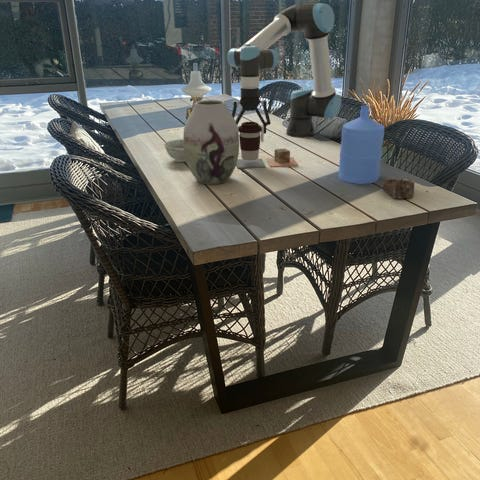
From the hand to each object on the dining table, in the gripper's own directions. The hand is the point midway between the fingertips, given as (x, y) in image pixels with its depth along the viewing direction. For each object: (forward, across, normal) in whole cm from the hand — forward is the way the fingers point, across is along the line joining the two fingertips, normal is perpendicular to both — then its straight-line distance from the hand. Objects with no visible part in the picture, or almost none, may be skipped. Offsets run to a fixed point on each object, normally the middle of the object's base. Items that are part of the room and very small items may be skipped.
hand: (249, 141), depth 207 cm
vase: (+10, +17, +19) cm, 27 cm away
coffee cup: (+7, 0, 0) cm, 7 cm away
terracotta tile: (+10, -14, 0) cm, 17 cm away
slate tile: (+10, 0, 0) cm, 10 cm away
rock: (+11, -48, +48) cm, 69 cm away
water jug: (+10, -40, +25) cm, 48 cm away
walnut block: (+9, -14, 0) cm, 17 cm away
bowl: (+10, +29, -11) cm, 33 cm away
